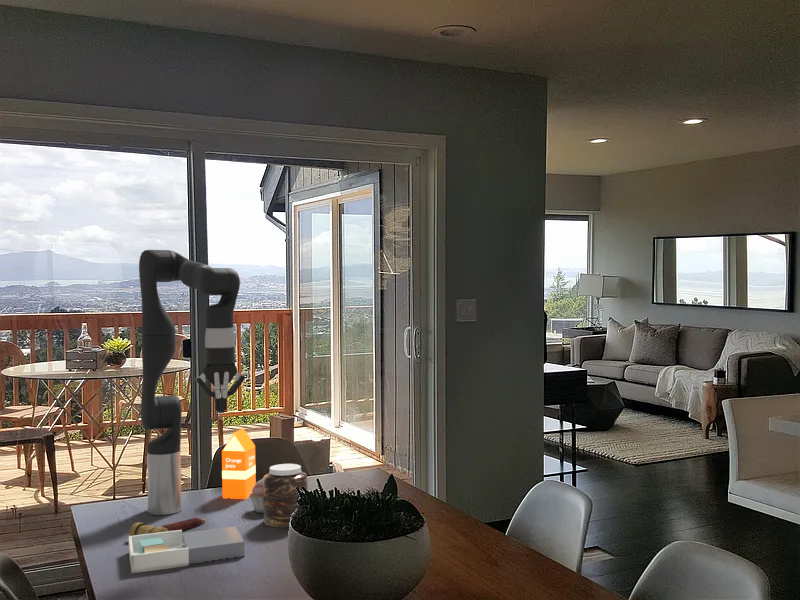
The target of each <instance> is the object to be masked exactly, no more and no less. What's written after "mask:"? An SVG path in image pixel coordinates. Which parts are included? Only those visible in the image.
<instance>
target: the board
mask: <svg viewBox="0 0 800 600" xmlns="http://www.w3.org/2000/svg"><path fill="white" fill-rule="evenodd" d="M182 545H183V548H189V565H192V564H193V565H194V564H199V563H206V562H205V561H208V562H213V561H212V560H215V561H220V560H219V559H222V560H227V559H226V558H229V559H235V558H234V557H237V558H243V557H242V556H244V557H245V554H246V553H245V541H244V538H243V537H242V535H241V534H240V532H239V531H238V528H237V527H236V526H228V527H219V528H212V529H204V530H195V531H194V530H193V531H187V532H182Z"/></svg>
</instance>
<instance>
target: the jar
mask: <svg viewBox="0 0 800 600" xmlns="http://www.w3.org/2000/svg"><path fill="white" fill-rule="evenodd" d="M263 477H264V484H263V503H264V513H263V523H264V525H266V526H267V525H268V527H270V528H290V527H289V522H290V517H291V514H292V513H293V512H294V510H295V509H296V508H298V507H299V505H298V504H297V502H296V501H297V499H299V494H298V492H297V490H296V488H297V487H298V488H299V489H300V490H301V491H302V492H303V490H302V487H305V488H306V489H307V490H308V487H309V486H308V475H307V473H306V472H304V471H302V466H301V465H300V464H297V463H281V464H280V463H279V464H275V465H271V466H269V472H268V473H266V474H264V476H263ZM308 491H309V490H308Z"/></svg>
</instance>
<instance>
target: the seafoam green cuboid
mask: <svg viewBox="0 0 800 600" xmlns="http://www.w3.org/2000/svg"><path fill="white" fill-rule="evenodd" d="M161 544H164V542H163V540H162V538H161V537H160V538H153V539H146V540H139V552H140V554H142V553H144V546H153V545H161Z"/></svg>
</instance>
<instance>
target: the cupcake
mask: <svg viewBox="0 0 800 600" xmlns="http://www.w3.org/2000/svg"><path fill="white" fill-rule="evenodd" d="M263 484H264V476H263V477H262V479H260V480H258V481H256V483H255V486H254V487H253V488H252V493H250V496H249V498H250V500H251V502H252V505H253V510H254V512H256V513H259V514H264V503H263Z"/></svg>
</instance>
